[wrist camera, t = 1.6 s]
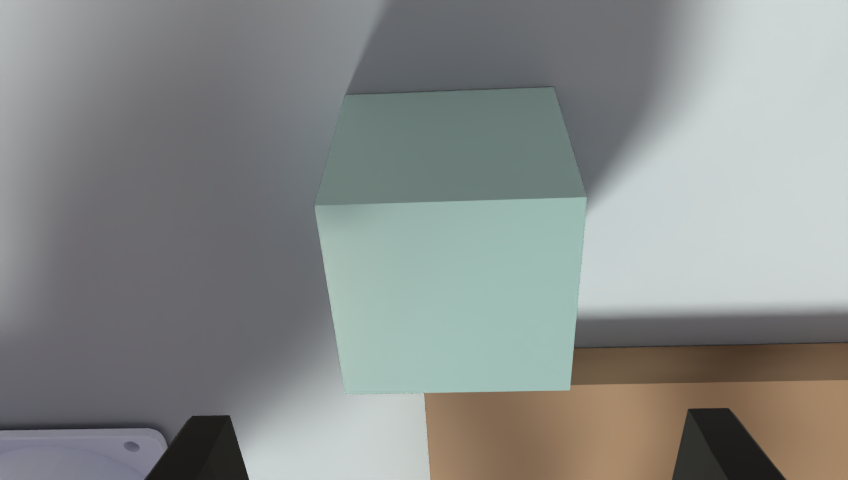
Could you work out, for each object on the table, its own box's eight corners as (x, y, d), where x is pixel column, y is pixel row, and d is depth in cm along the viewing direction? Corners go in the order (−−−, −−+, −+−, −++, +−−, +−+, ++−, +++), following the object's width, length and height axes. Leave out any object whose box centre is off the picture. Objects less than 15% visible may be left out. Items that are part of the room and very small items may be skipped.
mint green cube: (365, 261, 20) (345, 394, 16) (345, 94, 18) (314, 205, 13) (544, 256, 20) (569, 390, 16) (553, 87, 17) (587, 197, 13)
